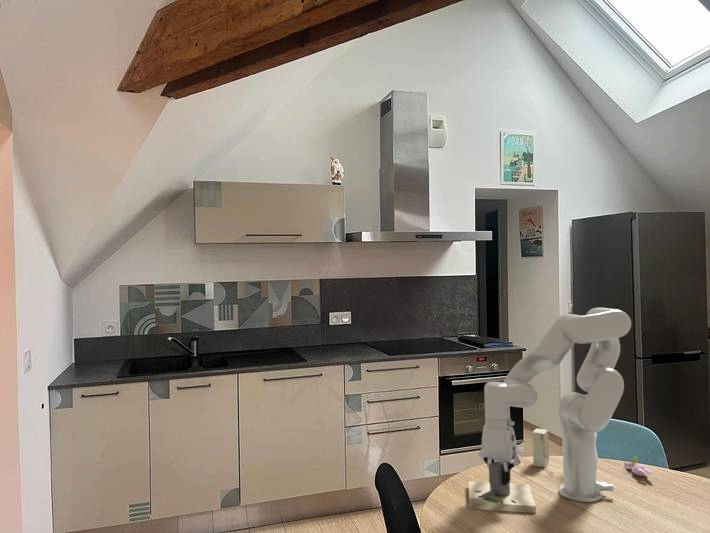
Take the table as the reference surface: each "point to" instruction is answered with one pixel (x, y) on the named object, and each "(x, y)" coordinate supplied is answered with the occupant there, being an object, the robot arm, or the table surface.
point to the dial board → (502, 498)
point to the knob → (497, 480)
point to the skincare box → (540, 447)
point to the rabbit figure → (637, 468)
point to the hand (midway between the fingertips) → (499, 480)
